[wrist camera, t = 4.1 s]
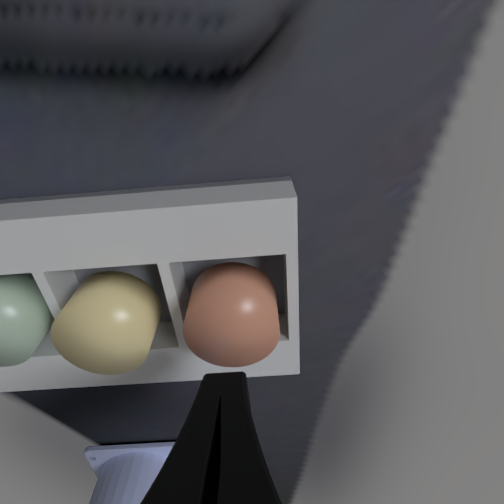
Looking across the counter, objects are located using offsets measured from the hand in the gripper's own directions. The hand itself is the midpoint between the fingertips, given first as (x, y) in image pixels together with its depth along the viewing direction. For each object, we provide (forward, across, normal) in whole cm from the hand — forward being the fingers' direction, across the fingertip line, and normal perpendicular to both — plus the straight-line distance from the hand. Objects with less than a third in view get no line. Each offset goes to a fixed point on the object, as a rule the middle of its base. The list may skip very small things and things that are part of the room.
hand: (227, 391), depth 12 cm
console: (+7, +6, 0) cm, 9 cm away
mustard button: (+5, +6, 0) cm, 8 cm away
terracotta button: (+5, 0, 0) cm, 5 cm away
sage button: (+6, +11, 0) cm, 13 cm away
